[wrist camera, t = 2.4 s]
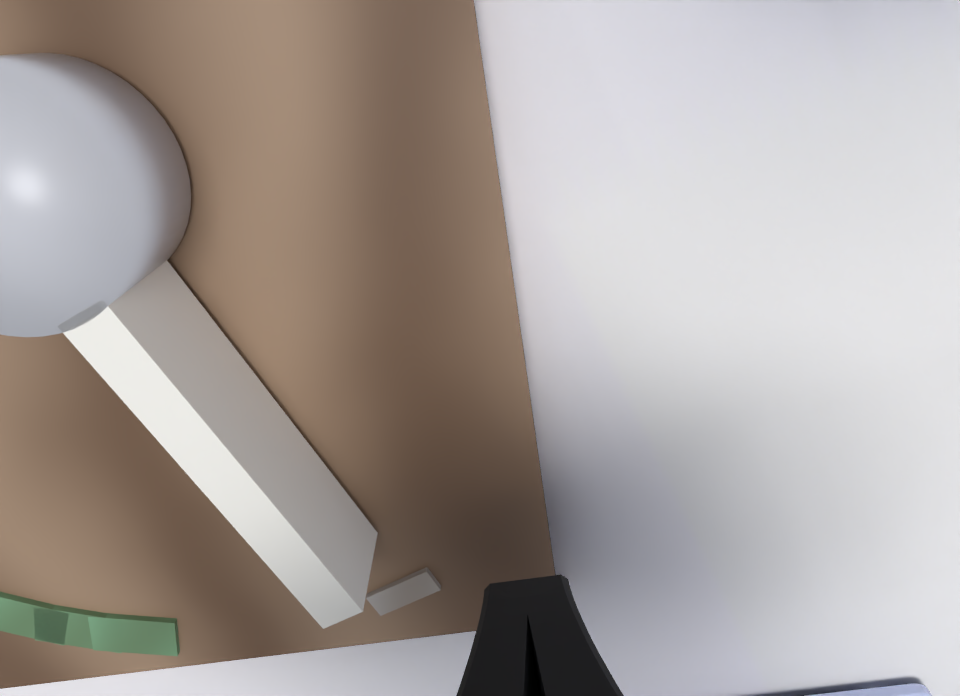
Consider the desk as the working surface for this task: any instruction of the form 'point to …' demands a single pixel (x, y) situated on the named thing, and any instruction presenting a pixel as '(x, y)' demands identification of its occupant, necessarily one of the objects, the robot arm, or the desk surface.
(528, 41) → the desk surface
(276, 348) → the dial board
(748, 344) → the desk surface
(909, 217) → the desk surface
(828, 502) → the desk surface
